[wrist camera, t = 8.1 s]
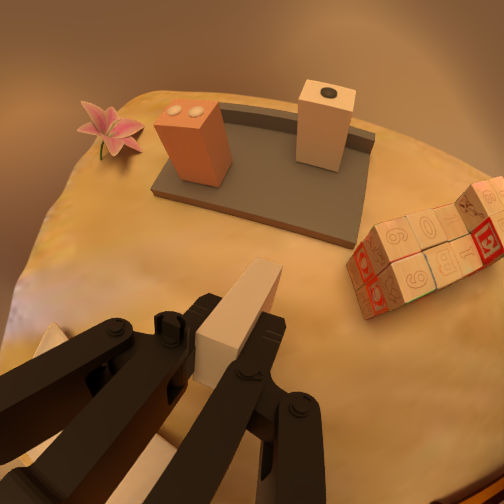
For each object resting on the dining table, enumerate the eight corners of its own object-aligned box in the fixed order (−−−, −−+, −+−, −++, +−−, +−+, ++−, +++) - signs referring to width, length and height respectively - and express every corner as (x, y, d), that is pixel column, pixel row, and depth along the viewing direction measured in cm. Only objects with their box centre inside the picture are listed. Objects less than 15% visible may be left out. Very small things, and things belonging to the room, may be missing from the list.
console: (368, 154, 31) (375, 133, 28) (352, 249, 27) (363, 232, 23) (202, 120, 36) (195, 100, 33) (154, 195, 32) (141, 177, 28)
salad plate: (20, 422, 21) (4, 423, 18) (68, 322, 27) (50, 317, 24) (119, 530, 16) (107, 540, 12) (198, 446, 21) (187, 456, 18)
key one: (342, 148, 30) (356, 88, 21) (337, 172, 29) (353, 109, 20) (303, 138, 31) (307, 76, 22) (295, 161, 30) (298, 96, 21)
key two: (232, 161, 30) (218, 99, 22) (219, 187, 29) (198, 126, 21) (195, 154, 31) (173, 96, 23) (180, 179, 30) (152, 122, 22)
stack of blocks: (363, 322, 24) (425, 293, 13) (344, 264, 27) (385, 199, 15) (493, 263, 24) (552, 222, 13) (475, 221, 27) (526, 170, 15)
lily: (124, 193, 34) (128, 134, 27) (60, 174, 31) (55, 119, 24) (154, 149, 42) (164, 100, 34) (98, 135, 39) (101, 87, 32)
